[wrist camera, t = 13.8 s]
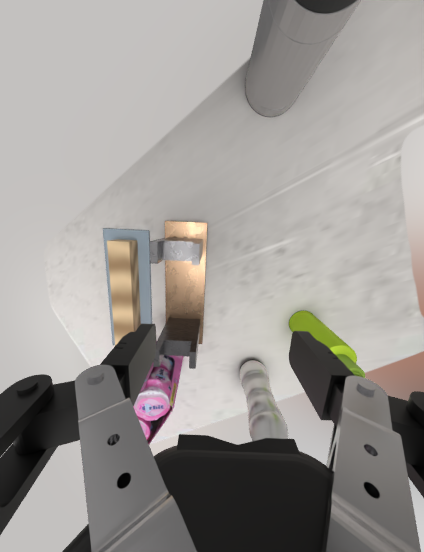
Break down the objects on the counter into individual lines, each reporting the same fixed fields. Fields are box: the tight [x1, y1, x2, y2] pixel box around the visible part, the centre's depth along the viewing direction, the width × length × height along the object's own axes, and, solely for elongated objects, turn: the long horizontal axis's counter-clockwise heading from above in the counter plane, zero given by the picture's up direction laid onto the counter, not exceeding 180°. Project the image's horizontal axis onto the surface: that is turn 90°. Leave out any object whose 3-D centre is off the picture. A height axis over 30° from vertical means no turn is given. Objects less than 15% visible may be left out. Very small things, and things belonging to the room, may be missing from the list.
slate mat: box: [103, 228, 152, 345], centre depth 42 cm, size 26×9×1 cm, turn 177°
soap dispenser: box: [289, 311, 365, 378], centre depth 35 cm, size 6×7×20 cm
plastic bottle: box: [240, 360, 288, 441], centre depth 37 cm, size 6×7×20 cm
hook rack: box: [150, 221, 207, 369], centre depth 36 cm, size 26×8×13 cm, turn 177°
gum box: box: [133, 355, 183, 444], centre depth 41 cm, size 24×8×14 cm, turn 149°
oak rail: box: [107, 239, 141, 346], centre depth 40 cm, size 22×4×4 cm, turn 177°
